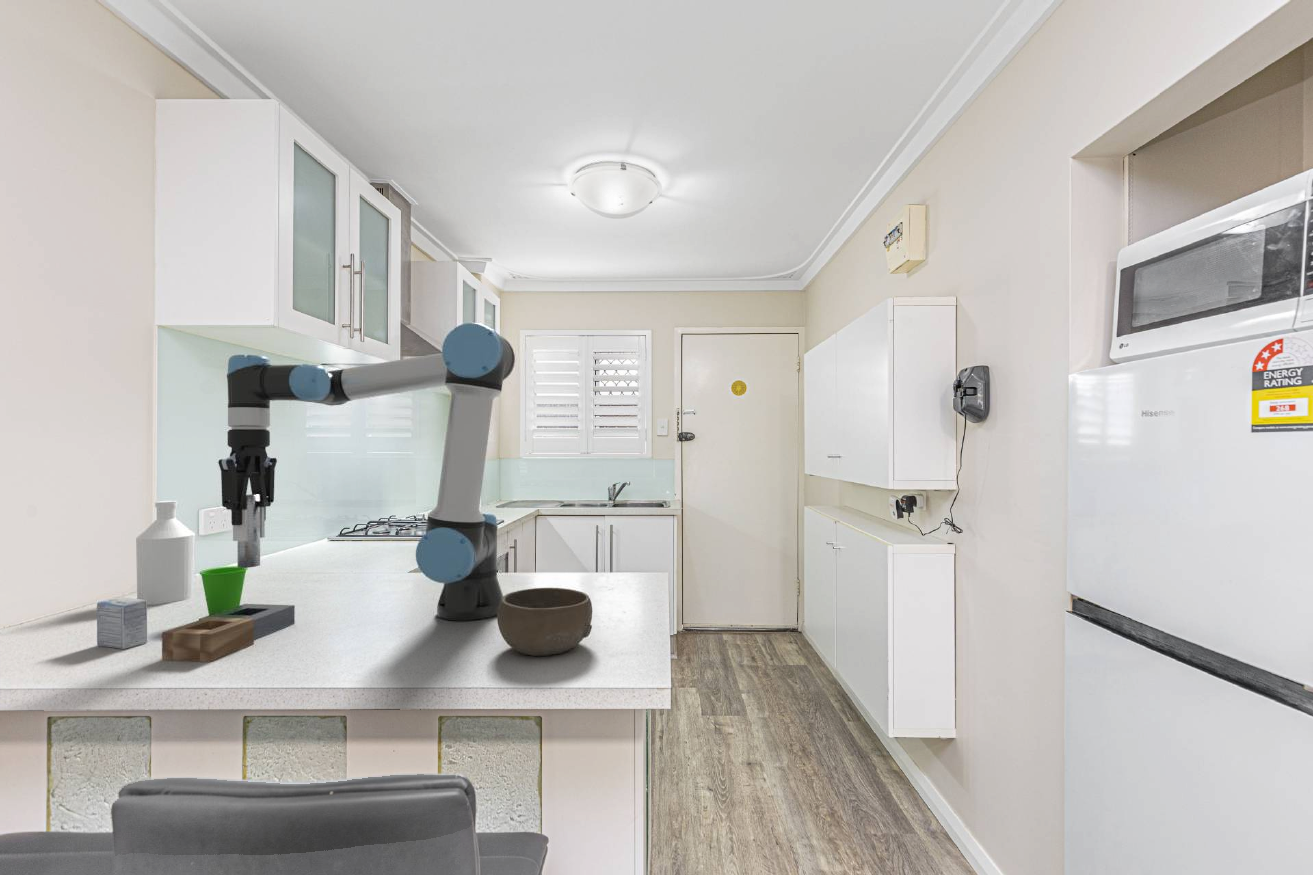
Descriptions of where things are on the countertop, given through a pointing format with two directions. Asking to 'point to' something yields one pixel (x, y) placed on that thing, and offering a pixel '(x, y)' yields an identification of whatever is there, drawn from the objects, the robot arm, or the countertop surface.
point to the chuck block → (262, 616)
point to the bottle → (165, 558)
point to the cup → (223, 587)
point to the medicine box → (122, 623)
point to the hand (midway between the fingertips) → (249, 538)
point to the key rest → (207, 639)
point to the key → (251, 533)
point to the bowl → (544, 620)
